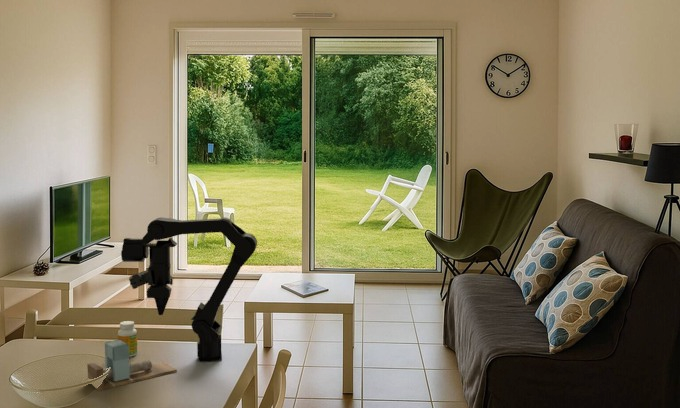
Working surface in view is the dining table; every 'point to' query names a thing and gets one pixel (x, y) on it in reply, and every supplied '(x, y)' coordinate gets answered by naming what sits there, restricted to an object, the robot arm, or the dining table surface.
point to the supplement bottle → (128, 336)
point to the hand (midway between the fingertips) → (160, 314)
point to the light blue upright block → (117, 359)
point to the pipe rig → (136, 373)
